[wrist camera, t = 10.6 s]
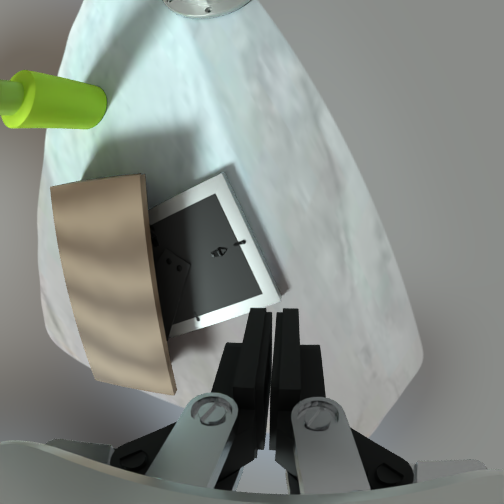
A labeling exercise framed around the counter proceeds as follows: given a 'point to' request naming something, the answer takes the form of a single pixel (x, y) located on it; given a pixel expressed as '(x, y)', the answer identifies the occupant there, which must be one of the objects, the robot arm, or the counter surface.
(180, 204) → the picture frame
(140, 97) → the counter surface
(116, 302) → the walnut shelf
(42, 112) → the soap dispenser
